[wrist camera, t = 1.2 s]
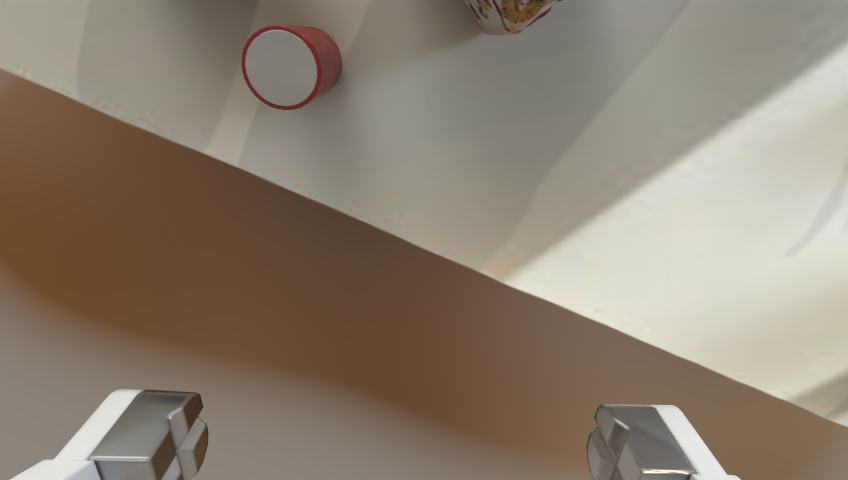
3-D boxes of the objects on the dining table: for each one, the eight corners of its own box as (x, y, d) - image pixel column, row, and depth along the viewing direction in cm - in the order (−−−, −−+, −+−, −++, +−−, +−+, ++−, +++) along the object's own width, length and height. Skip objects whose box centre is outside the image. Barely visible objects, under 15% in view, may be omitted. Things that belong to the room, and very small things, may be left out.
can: (309, 11, 39) (278, 6, 30) (354, 65, 41) (337, 74, 32) (265, 57, 41) (224, 63, 32) (311, 107, 43) (283, 126, 34)
